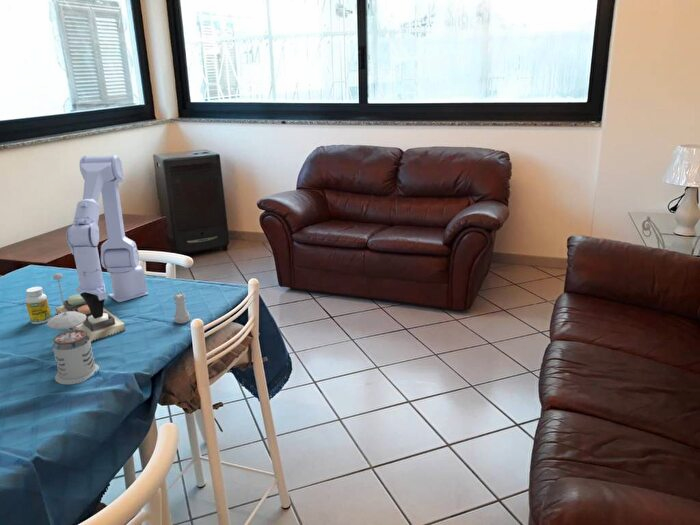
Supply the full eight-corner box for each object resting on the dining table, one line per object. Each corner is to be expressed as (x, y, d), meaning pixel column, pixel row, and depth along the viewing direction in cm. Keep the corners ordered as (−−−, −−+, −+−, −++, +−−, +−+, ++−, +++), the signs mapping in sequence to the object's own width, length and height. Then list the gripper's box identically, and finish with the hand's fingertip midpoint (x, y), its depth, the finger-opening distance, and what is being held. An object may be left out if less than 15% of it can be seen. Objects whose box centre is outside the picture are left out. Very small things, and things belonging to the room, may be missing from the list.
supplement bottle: (50, 314, 166) (43, 284, 163) (53, 321, 162) (46, 289, 159) (29, 319, 164) (22, 288, 160) (31, 326, 159) (24, 294, 156)
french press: (53, 388, 129) (30, 284, 120) (55, 364, 139) (34, 267, 130) (100, 378, 132) (81, 277, 124) (99, 356, 142) (81, 260, 134)
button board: (91, 303, 173) (89, 292, 172) (125, 330, 156) (123, 317, 154) (56, 313, 167) (54, 301, 165) (87, 342, 149) (85, 329, 148)
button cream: (105, 317, 158) (103, 311, 158) (112, 323, 155) (110, 316, 154) (86, 323, 155) (85, 316, 154) (93, 329, 152) (91, 322, 151)
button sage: (83, 298, 169) (82, 292, 168) (90, 303, 166) (88, 297, 165) (66, 303, 166) (64, 297, 165) (72, 308, 162) (70, 302, 162)
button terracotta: (94, 309, 164) (93, 302, 163) (100, 314, 160) (99, 307, 160) (76, 314, 161) (74, 308, 160) (82, 320, 157) (81, 313, 156)
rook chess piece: (194, 318, 162) (191, 292, 159) (183, 325, 158) (180, 298, 155) (181, 316, 163) (178, 290, 161) (170, 322, 160) (167, 296, 157)
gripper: (63, 266, 152) (73, 313, 157) (83, 280, 142) (92, 330, 147) (91, 260, 157) (99, 305, 161) (111, 273, 147) (119, 321, 151)
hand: (97, 316), depth 154 cm, fingers closed, pressing on button cream
